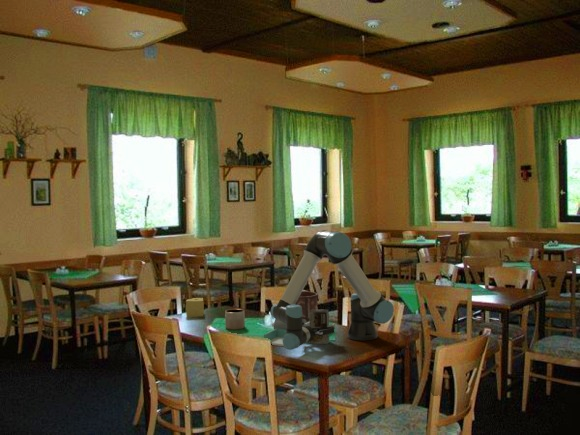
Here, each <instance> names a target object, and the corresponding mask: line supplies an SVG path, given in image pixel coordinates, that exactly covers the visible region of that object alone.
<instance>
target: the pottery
mask: <svg viewBox="0 0 580 435" xmlns="http://www.w3.org/2000/svg"><path fill="white" fill-rule="evenodd" d="M318 296H319V295H318V293H317V292H314V291H306V290H305V291H304V290H302V292H301V294H300V296H299V298H298V300H297V302H296V304H295V305H300V306H301V307H302V313H303V315H302V319H305V320H306V321H307V322H309V312H310V311H311V309H318Z"/></svg>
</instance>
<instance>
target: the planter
mask: <svg viewBox="0 0 580 435" xmlns="http://www.w3.org/2000/svg"><path fill="white" fill-rule="evenodd" d="M224 313H225V314H224V319H225V323H224V326H225V327H224V328H225V329H227V330H230V331H231V330H232V331H236V330H242V329H244V328H246V321H245V320H246V318H245V317H246V315H245V309H243V308H228V309H226V310H224Z"/></svg>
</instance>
